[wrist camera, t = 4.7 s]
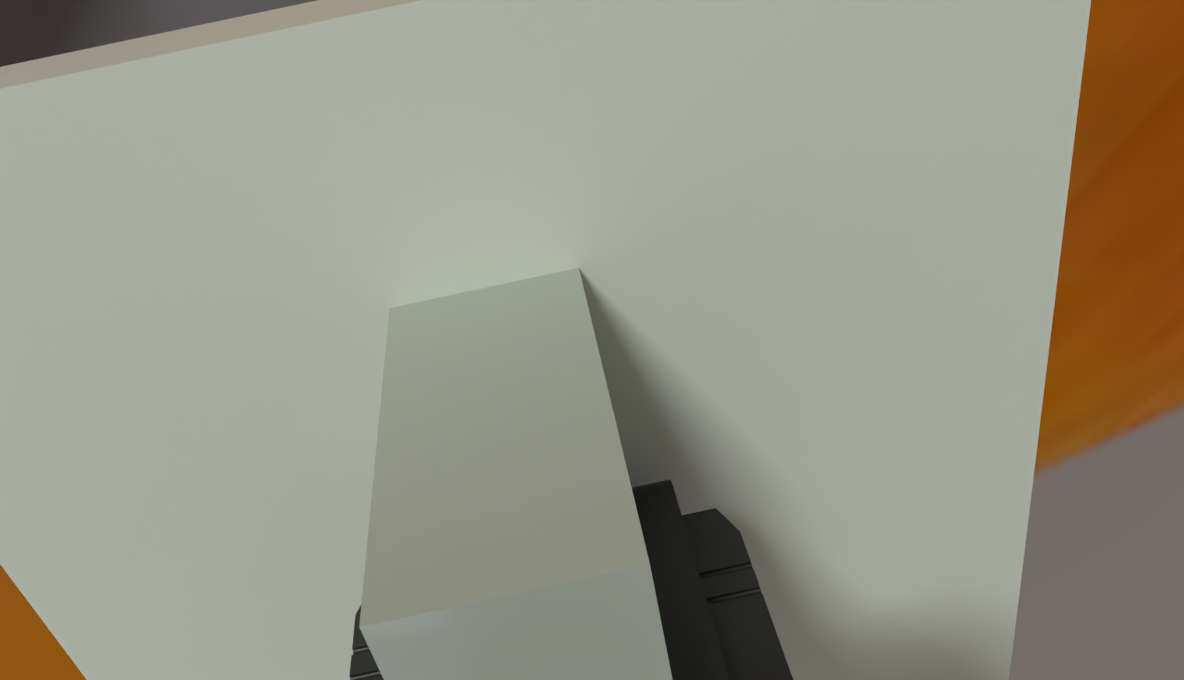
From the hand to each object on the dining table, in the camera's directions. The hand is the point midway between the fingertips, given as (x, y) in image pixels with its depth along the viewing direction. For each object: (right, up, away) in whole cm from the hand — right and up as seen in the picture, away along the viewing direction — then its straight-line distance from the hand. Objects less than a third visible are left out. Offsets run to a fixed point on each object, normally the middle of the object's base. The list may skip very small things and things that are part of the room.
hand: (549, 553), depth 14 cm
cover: (0, +1, +1) cm, 2 cm away
